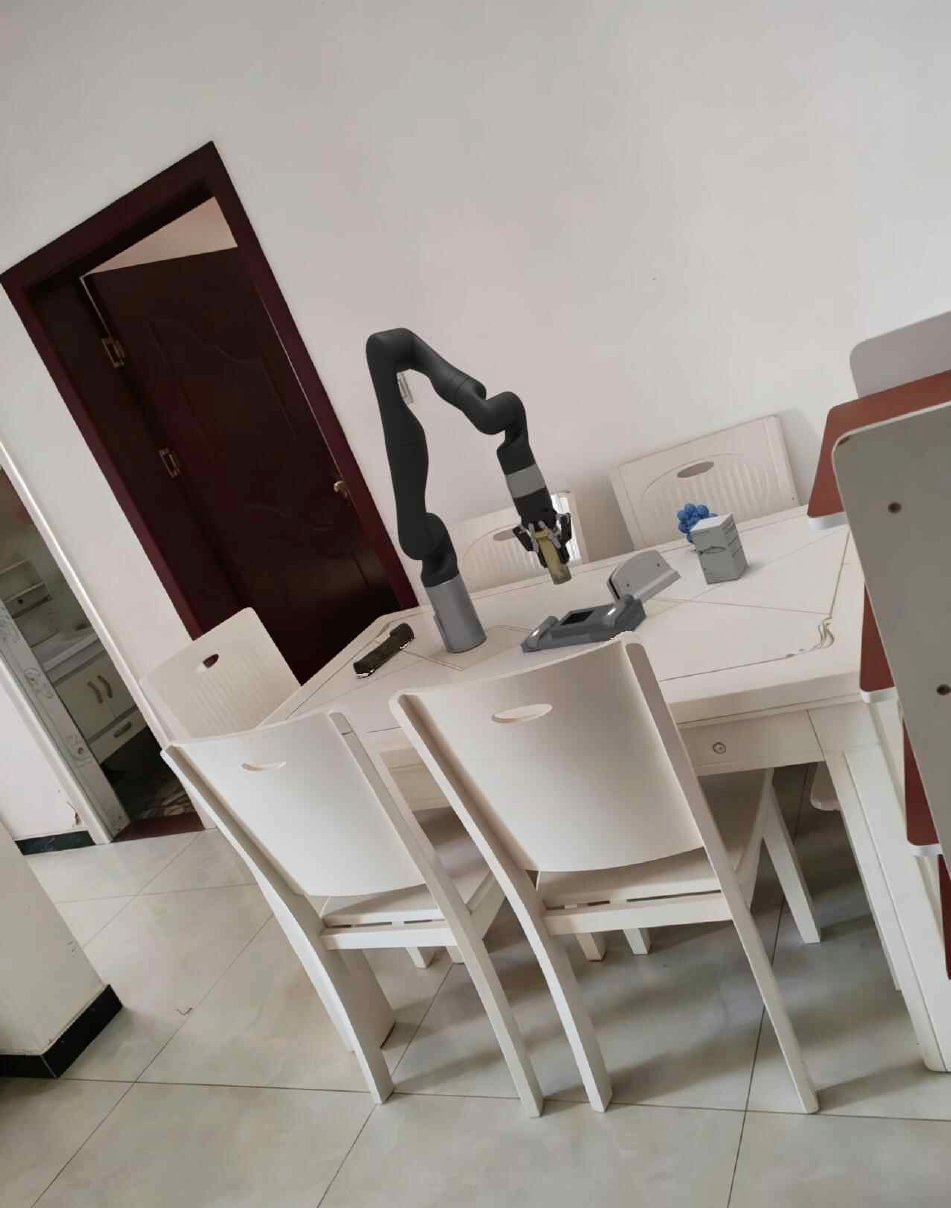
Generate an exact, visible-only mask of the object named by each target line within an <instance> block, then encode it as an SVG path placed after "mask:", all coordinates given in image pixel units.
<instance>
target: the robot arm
mask: <svg viewBox="0 0 951 1208" xmlns="http://www.w3.org/2000/svg"><path fill="white" fill-rule="evenodd" d="M365 358H366V363H367V367H368V371H369V375H370V378H371V382H372V386H373V389H374V393H375V397H376V400H377V405H378V411H379V414H380V420H381V424H382V431H383V439H384V446H385V452H386V456H387V462H388V468H389V470H390V479H391V483H392V484H391V485H392V490H393V496H394V502H395V510H396V511H395V512H396V527H397V539H398V543H399V547H400V548H401V550H402V552H403V553H404V554H405V555H406V556H407V558H409V559H411V560H414V561H421V572H420V576H419V578H420V581H421V583H422V586H423V588H424V591H425V593H426V595H427V598H428V600H429V602H430V605H431V607H432V609H433V612H434V614H433V616H432V619H433V621H434V623H435V626H436V628H437V630H438V632H439V635H440V637H441V640H442V641H443V644H444V646H445V649H446V651H447V652H451V653H454V652H456V653H460V652H464V651H465V652H466V651H468V650H470V649H473V648H475V647H477V646H479V645H480V644H482V643H483V642H484V641H485V640H486V639H487V635H486V633H485V630H484V628H483V626H482V623H481V621H480V620H481V619H480V618H479V615H478V613H477V611H476V607H475V605H474V603H473V601H472V598H471V595H470V593H469V591H468V588H467V586H466V584H465V582H464V579H463V577H462V574H461V572H460V569H459V566H458V556H457V552H456V550H455V549H456V548H455V547H454V545H453V541H452V539H451V536H450V533H449V531H448V528H447V526H446V525H445V523H444V521H443V520H442V519H441V517H440V516H438V515H437V514H435V513H433V512H427V507H426V505H427V504H426V490H427V483H428V481H427V480H428V475H429V466H430V465H429V462H430V459H429V450H428V443H427V437H426V433H425V429H424V427H423V425H422V424H421V422H420V421H419V419H418V418H417V417H416V415H415V414H414V413H413V411H412V410H411V408H410V407H409V406H408V405H407V403H406V402H405V400H404V398H403V396H402V392H401V388H400V384H399V378H398V374H399V373H400V374H401V373H402V372H407V371H409V370H410V371H415V372H416V373H417V372H418V373H420V374H422V375H424V376H425V377H427V378H428V379H429V382H430V384H431V386H432V389H433V390H434V392H435V393H436V394H437V396H438V397H440V398H441V399H442V400H443V401H444V402H446V403H447V404H449V405H451V406H453V407H454V408H455V409H457V410H459V411H461V412H462V413H463V414H464V416H465V417H466V419H467V420H469V422H470V423H471V424H472V425H473V426H474V427H475V429H476V430H477V431H479V432H480V433H482V434H483V435H484V434H485V435H486V436H487V435H488V436H495V435H498V434H500V433H501V432H504V439H503V442H502V443H500V445H499V446H498V447H497V449H496V451H495V452H496V457H497V460H498V462H499V465H500V467H501V470H502V472H503V475H504V480H505V482H506V483H505V484H506V487H507V490H508V492H509V494H510V496H511V500H512V502H513V504H514V507H515V510H516V512H517V515H518V516H519V518H520V524H518V525H516V526H514V527H513V528H512V530H511V531H512V533H513V534H514V536H515V537H516V539H517V540H518V541H519V542H520V544H521V545H522V546H523V549H525V551H526V552H528V553H529V552H534V553H535V554H536V557H537V559H538V561H539V563H540V566H541V567H542V568H543V569H548V567H547V564H546V562H545V559H544V557H543V554H542V552H541V549H540V546H539V544H538V541H537V539H533V536H532V533H535V532H536V531H540V530H548V533H549V534H550V535H548V538H549V539H550V540H552V541H553V543H554V544H555V546H556V547H557V549H556V550H557V553H558V555H559V558H560V560H561V563H562V564H567V565H568V563H569V562H570V559H571V555H570V553H569V550H568V547H567V545H566V544H567V543H568V542H569V541H570V540H572V539H573V530H572V515H571V513H570V512H569V511H568V512H565V513H559V512H558V511H557V510H556V509H555V508H554V505H553V500H552V497H551V494H550V491H549V489H548V486H547V484H546V482H545V479H544V476H543V473H542V471H541V469H540V468H539V465H538V463H537V460H536V457H535V455H534V453H533V451H532V448H531V445H530V439H529V428H528V421H527V412H526V409H525V405H524V403H523V402H522V400H521V398H520V397H519V396H518V395H517V394H516V393H515V392H512V391H502V392H499V393H498V394H496V395H494V396H492V397H489V398H487V397H488V396H487V395H488V393H487V388H486V386H485V385H484V384H483V383H482V382H481V381H479V380H477V379H476V378H474V377H472V376H471V375H469V374H467V373H466V372H464V371H462V370H461V369H459V368H458V367H456V366H454V365H453V364H451V363H450V362H448V360H446V359H445V358H444V357H442V355H440V353H438V352H437V351H435V349H434V348H432V346H430V345H429V344H428V343H427V342H425V341H424V340H423V339H422V338H421V337H420V336H419V335H417V333H415V332H414V331H412V330H411V329H408V328H405V327H397V328H391V329H387V330H382V331H378V332H374V333H371V335H369V336H368V338H367V340H366V343H365ZM557 522H558V523H557ZM559 525H560V527H559ZM555 527H556V529H557V530H556V531H555V533H553V532H552V531H551V530H553V529H554V528H555ZM528 532H529V533H530V534H529V533H528Z"/></svg>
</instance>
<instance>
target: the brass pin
mask: <svg viewBox="0 0 951 1208" xmlns="http://www.w3.org/2000/svg"><path fill="white" fill-rule="evenodd" d="M556 530H557V529H556V527H555V528H554V529H553V530H551V531H552V532H553V533H555V531H556ZM548 535H550V534H549V533H548V530H540V531H536V532H535V533H532V536H533V539H537V541H538V544H539V546H540V549H541V552H542V554H543V557H544V559H545V562H546V564H547V567H548V568H547V570H548V573H549V574H550V577H551V581H552V583H553V584H554V585H555V586H557V585H562V584H565V583H567V582H569V581H571V580H572V578H573V577H572V574H571V572H570V569H569V566H568V563H567V564H562V563H561V560H560V558H559V555H558V553H557V550H556V549H557V547H556V546H555V544H554V543H553V541H552V540H550V539H549V538H548Z"/></svg>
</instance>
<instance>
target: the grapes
mask: <svg viewBox="0 0 951 1208" xmlns="http://www.w3.org/2000/svg"><path fill="white" fill-rule="evenodd" d="M683 509H684V510H683ZM683 509H680V510H679V511H677V514H676V516H677V519H678V520H679V521H680V522H679V523H678V525H677V528H678V530H679V531H680V533H682V534H685V535H686V534H687V535H686V541H687V543H689V544H692V545H694V543H693V540H692V537H691V534H690V530H691V529H692V528H693V527H694V526H695V525H696V524H697V523H698V522H699V521H700V520H702V519H706V518H711V517H717V516H719V514H716V513H715V512H710V509H709V508H708V507H707V506H706V505H705V504H698V505H695V504H693V503H691V502H690V503H685V505H684V506H683Z"/></svg>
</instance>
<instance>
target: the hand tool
mask: <svg viewBox="0 0 951 1208" xmlns="http://www.w3.org/2000/svg"><path fill="white" fill-rule="evenodd" d="M414 635H415V632H414V631H413V628H412V627H411V626H410V625H409V624H408V623H406V622H402V623H399V624H398V625H397V626H396V627H395V628H393V629H391V630H390V631H389V636H388V637H387V638H386V639H385V640H384V641H382V642H381V643H380V644H379V645H378V646H376V647H375V648H374V649H372V650H371V651H369V652H368V653H367V654H366V655H364V656H363V657H362V658H361V659H360V660H357V661H355V662H353V664H352V667H353V669H354V672H355V674H356V675H357V674H363V673H370V671H371V670H373V669H374V668H375V667H376V666H377V665H378V664H380V663H381V662H382V661H383V662H385V659H386V658H387V659H388V658H390V657H391V656H392V655H394V653H396V652H397V651H398V650H401V649H400V647H403V646H404V645H405V644H407V643H408V642H409V641H411V639H412V638H413V637H414ZM414 638H415V637H414ZM414 638H413V639H414ZM411 642H412V641H411ZM390 655H391V656H390ZM387 659H386V660H387ZM383 662H382V663H383ZM382 663H381V664H382ZM378 666H379V665H378ZM378 666H377V667H378ZM377 667H376V668H377ZM376 668H375V669H376ZM375 669H374V670H375ZM370 674H371V673H370Z"/></svg>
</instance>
